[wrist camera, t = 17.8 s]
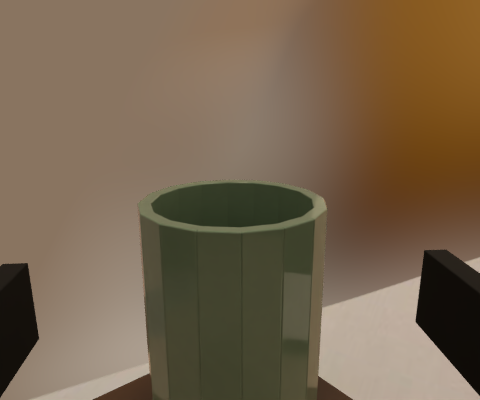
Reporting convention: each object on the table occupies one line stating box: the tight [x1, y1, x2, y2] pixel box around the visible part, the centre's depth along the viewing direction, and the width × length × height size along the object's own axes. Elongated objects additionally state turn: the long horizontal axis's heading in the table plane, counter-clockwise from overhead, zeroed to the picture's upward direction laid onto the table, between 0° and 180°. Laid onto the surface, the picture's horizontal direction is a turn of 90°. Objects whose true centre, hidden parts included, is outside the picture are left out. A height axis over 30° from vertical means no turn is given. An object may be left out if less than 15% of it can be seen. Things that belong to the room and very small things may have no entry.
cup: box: [138, 180, 327, 400], centre depth 17 cm, size 7×7×10 cm
